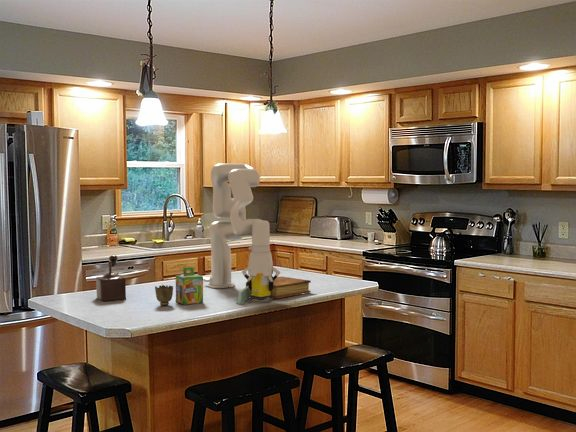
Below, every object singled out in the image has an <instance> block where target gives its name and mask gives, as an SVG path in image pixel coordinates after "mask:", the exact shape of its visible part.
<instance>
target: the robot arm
mask: <svg viewBox="0 0 576 432" xmlns="http://www.w3.org/2000/svg"><path fill="white" fill-rule="evenodd" d="M210 181H211V185H212V214H213V216H214V217H215V218H217V219H229V220H216V221H213V222H211V223H210V224H209V227H208V233H209V239H210V251H211V252H210V257H211V260H210V261H211V262H210V263H211V264H210V265H211V268H210V269H211V270H210V271H211V276H210V277H204V276H203V283H204V282H205V283H208V286H207V287H209V288H213V289H227V288H228V287H229V288H233V287H235V286H236V285H235V283H234V282H233V281H232V250H231V249H232V248H231V247H230V245H229V243H227V241H236V240H237V241H238V240H242V239H243V238H244V237H245V238H246V237H251V246H248V250H250V251H251V252H249V257H248V266H247V267H245V268H243V270H241V273H242V275H243V276H244V277H243V278H245V279H246V281H248V287H249V288H250V291H251V290H252V281H251V278H252V276H257V273H263V276H264V277H268V278H269V280H270V282H269V291H272V289H273V281H274V280H275V279H276V278H277V277H279V276H280V274H281V271H280V270H278V269H277V268H275V266H274V262H273V256H272V255H273V254H272V252H271V250H270V245H271V243H270V236H271V235H270V234H271V233H270V222H269V221H268V220H263V219H260V218H246V216H247V215H246V214H247V213H246V206H248V205H249V204H251V203H252V202H253V200H254V195H253V191H252V189H251V188H256V187H258V186H259V184H260V181H261V178H260V174H259V172H258V170H257V169H255V168H254V167H252V166H250V165H249V164H246V163H230V162H229V163H226V162H225V163H216V164H215V165H213V166H212V168H211V169H210ZM228 182H229V183H228ZM232 197H233V198H232ZM274 273H275V275H274V276H273V274H274ZM234 285H235V286H234Z"/></svg>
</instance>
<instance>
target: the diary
mask: <svg viewBox="0 0 576 432" xmlns="http://www.w3.org/2000/svg"><path fill="white" fill-rule="evenodd" d="M310 284H311V280H308V279H303V278H294V277H288V276H278V277H277V278H276V279H275V280H274V281H273V289H272V291H270V298H274V299H281V298H288V297H293V295H294V296H299V295H298V294H300V295H303V294H302V293H306V292H311V290H310V289H309V288H310V287H309V285H310ZM247 286H248V280H246V282H245V287H247ZM306 294H307V293H306ZM251 295H252V290H251Z"/></svg>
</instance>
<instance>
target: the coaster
mask: <svg viewBox="0 0 576 432" xmlns="http://www.w3.org/2000/svg"><path fill="white" fill-rule="evenodd" d="M272 299H273V298H270V297H266V298H262V299H259V298H253V297H250V298H249V299H248V303H255V302H267V303H266V304H270V303H271V302H272V301H273V300H274V299H273V300H272ZM271 300H272V301H271ZM270 301H271V302H270ZM269 302H270V303H269Z"/></svg>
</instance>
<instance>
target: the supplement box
mask: <svg viewBox="0 0 576 432" xmlns="http://www.w3.org/2000/svg"><path fill="white" fill-rule="evenodd" d="M251 281H252V294H251V295H252V297H251V298H259V299H262V298H266V297H270V291H269V282H270V280H269V278H268V277H264V276H263V273H257V276H252V278H251Z"/></svg>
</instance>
